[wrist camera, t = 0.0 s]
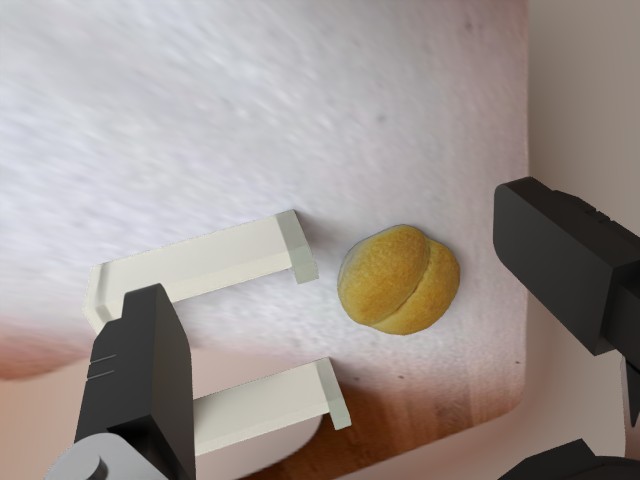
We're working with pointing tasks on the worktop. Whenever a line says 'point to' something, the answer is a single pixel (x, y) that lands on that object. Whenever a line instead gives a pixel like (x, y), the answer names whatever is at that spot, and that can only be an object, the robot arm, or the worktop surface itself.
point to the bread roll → (398, 281)
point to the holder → (211, 274)
